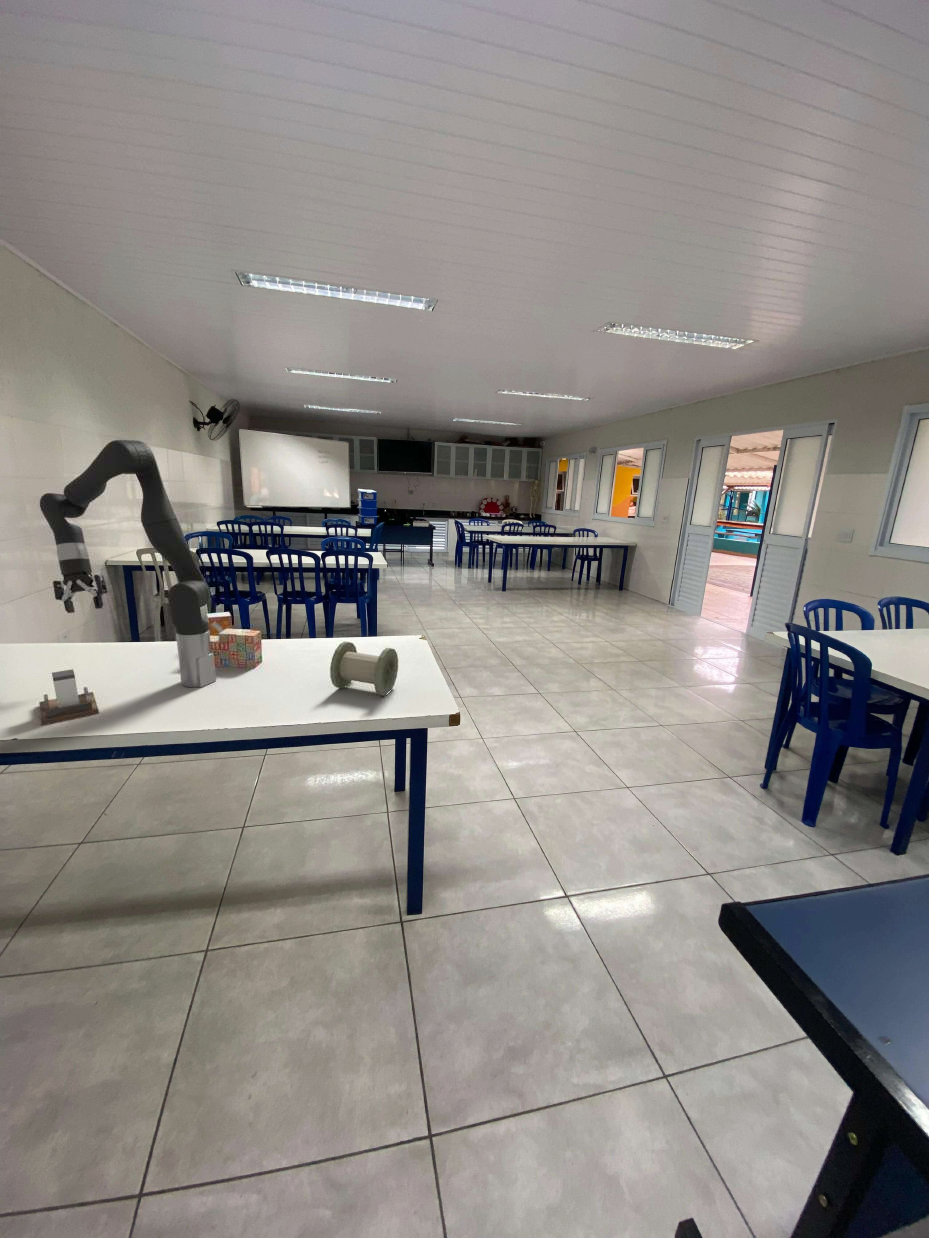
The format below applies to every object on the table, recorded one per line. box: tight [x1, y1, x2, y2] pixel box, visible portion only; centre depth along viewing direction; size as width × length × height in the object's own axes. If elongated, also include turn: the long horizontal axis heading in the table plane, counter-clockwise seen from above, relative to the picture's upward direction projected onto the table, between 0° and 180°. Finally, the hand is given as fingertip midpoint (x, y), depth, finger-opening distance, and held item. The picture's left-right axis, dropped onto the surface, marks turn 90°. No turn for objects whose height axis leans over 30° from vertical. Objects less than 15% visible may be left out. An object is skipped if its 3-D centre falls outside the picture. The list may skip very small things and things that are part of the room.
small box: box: [205, 611, 233, 636], centre depth 188 cm, size 8×6×13 cm
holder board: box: [38, 686, 100, 726], centre depth 133 cm, size 14×12×3 cm
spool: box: [329, 641, 399, 697], centre depth 156 cm, size 16×15×15 cm
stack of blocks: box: [210, 628, 263, 669], centre depth 171 cm, size 21×6×12 cm, turn 90°
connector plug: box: [51, 668, 79, 708], centre depth 131 cm, size 4×4×10 cm
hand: (85, 610), depth 150 cm, fingers open, 8 cm apart
